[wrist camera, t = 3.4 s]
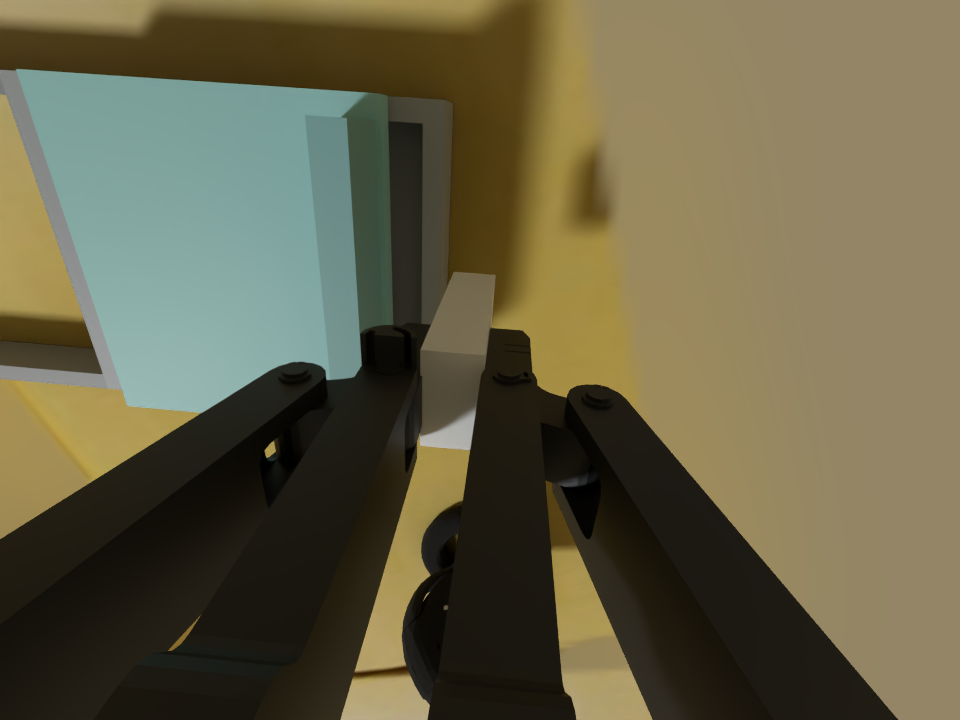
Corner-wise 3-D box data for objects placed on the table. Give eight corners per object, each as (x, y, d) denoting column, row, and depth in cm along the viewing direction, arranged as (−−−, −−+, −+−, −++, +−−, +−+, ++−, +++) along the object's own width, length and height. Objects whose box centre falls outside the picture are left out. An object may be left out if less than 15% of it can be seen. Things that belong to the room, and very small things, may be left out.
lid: (42, 72, 17) (-87, 56, 13) (387, 95, 16) (351, 85, 13) (142, 395, 23) (73, 444, 19) (395, 417, 22) (372, 472, 19)
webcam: (564, 532, 29) (586, 713, 20) (504, 599, 32) (501, 781, 23) (453, 481, 28) (424, 650, 19) (403, 556, 31) (357, 730, 22)
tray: (-186, 60, 20) (-277, 51, 17) (453, 103, 19) (444, 99, 16) (-44, 349, 26) (-97, 370, 23) (444, 392, 25) (437, 418, 23)
